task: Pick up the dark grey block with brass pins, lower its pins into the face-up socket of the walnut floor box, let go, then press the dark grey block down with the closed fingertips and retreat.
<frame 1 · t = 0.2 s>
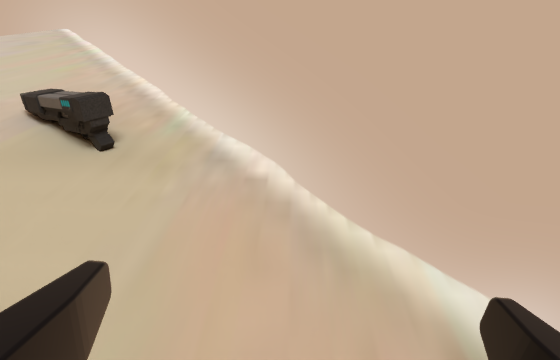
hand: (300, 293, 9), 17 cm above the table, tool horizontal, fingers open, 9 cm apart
gun: (69, 131, 59), on the table
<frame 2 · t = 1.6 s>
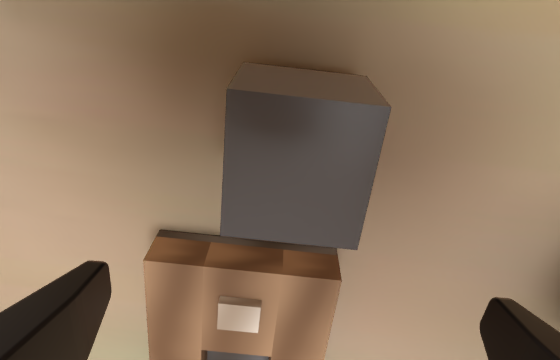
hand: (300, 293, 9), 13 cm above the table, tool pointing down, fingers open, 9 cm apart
socket box: (239, 341, 28), on the table
dark grey block: (296, 119, 21), on the table
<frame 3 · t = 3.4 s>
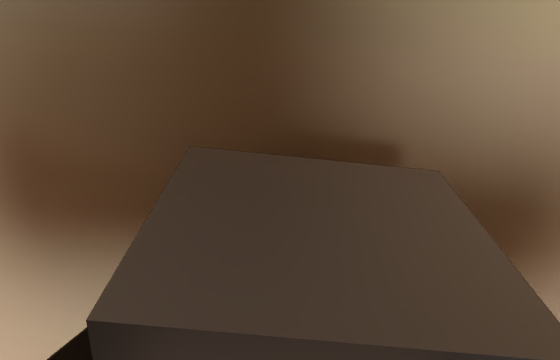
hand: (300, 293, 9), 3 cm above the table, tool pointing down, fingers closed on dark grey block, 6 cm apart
dark grey block: (297, 222, 12), on the table, touching gripper
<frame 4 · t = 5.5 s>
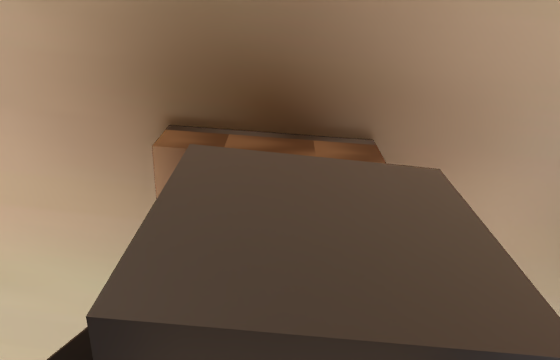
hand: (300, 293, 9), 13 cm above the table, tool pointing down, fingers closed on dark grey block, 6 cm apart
socket box: (263, 265, 25), on the table
dark grey block: (297, 221, 12), point 10 cm above the table, touching gripper
when the fingers open (4 cm above the table, at t = 7.8 s): dark grey block stays where it is, resting on socket box.
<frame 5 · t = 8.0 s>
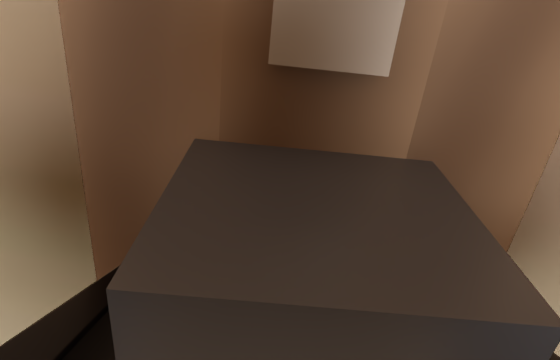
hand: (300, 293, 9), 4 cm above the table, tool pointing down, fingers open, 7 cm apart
socket box: (295, 199, 13), on the table
dark grey block: (297, 213, 12), point 1 cm above the table, touching socket box
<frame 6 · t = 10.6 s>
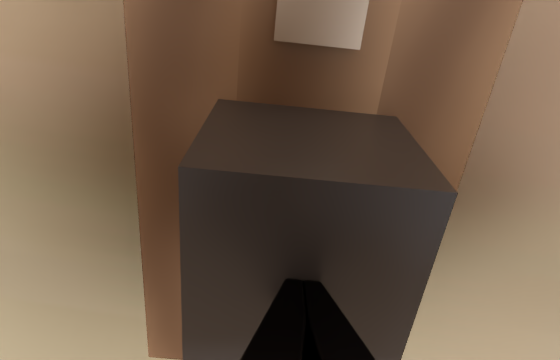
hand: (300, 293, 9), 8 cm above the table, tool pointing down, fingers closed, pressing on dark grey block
socket box: (294, 158, 16), on the table
dark grey block: (296, 167, 15), point 1 cm above the table, touching gripper, socket box
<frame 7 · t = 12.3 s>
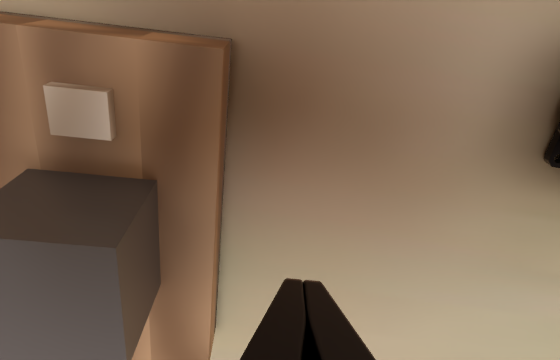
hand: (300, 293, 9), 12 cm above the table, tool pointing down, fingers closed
socket box: (120, 200, 21), on the table
dark grey block: (115, 209, 20), point 1 cm above the table, touching socket box
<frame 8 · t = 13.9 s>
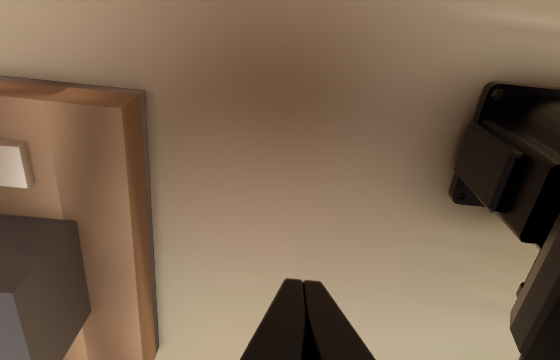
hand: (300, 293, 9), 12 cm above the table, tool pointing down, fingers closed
socket box: (59, 232, 23), on the table
dark grey block: (50, 241, 22), point 1 cm above the table, touching socket box
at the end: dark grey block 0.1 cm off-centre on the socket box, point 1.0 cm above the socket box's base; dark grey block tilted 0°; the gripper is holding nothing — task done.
